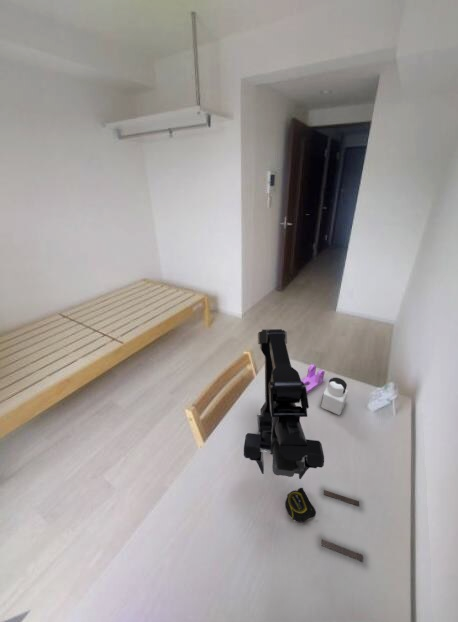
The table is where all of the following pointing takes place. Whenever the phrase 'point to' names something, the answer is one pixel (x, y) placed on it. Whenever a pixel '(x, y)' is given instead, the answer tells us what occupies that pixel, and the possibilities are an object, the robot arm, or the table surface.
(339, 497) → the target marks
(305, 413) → the robot arm
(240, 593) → the table surface
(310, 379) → the bracket
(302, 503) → the tape measure
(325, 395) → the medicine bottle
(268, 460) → the table surface
